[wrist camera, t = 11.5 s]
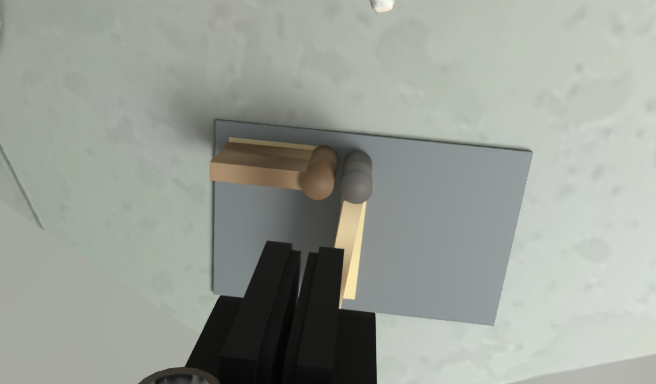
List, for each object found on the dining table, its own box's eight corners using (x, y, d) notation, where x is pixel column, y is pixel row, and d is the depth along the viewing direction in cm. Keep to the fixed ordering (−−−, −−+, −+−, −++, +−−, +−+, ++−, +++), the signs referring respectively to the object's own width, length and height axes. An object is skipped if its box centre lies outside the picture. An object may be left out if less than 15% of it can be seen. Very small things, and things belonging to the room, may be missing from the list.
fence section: (228, 162, 39) (207, 188, 34) (229, 135, 38) (208, 157, 33) (336, 174, 39) (332, 201, 34) (339, 147, 38) (334, 170, 33)
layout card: (214, 292, 43) (213, 294, 43) (216, 119, 38) (215, 121, 38) (492, 323, 42) (494, 326, 42) (531, 151, 38) (533, 153, 37)
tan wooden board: (346, 148, 38) (343, 170, 33) (374, 153, 38) (375, 176, 33) (317, 296, 42) (311, 334, 37) (343, 300, 42) (340, 339, 37)
